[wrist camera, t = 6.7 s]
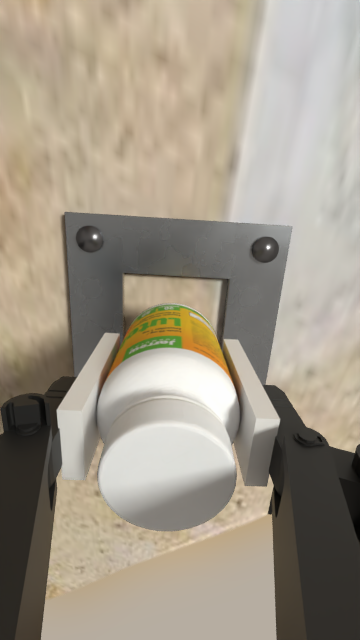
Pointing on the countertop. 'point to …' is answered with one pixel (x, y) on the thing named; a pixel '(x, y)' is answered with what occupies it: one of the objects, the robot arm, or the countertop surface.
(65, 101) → the countertop surface
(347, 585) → the robot arm
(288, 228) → the flange plate
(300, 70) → the countertop surface
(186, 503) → the supplement bottle
